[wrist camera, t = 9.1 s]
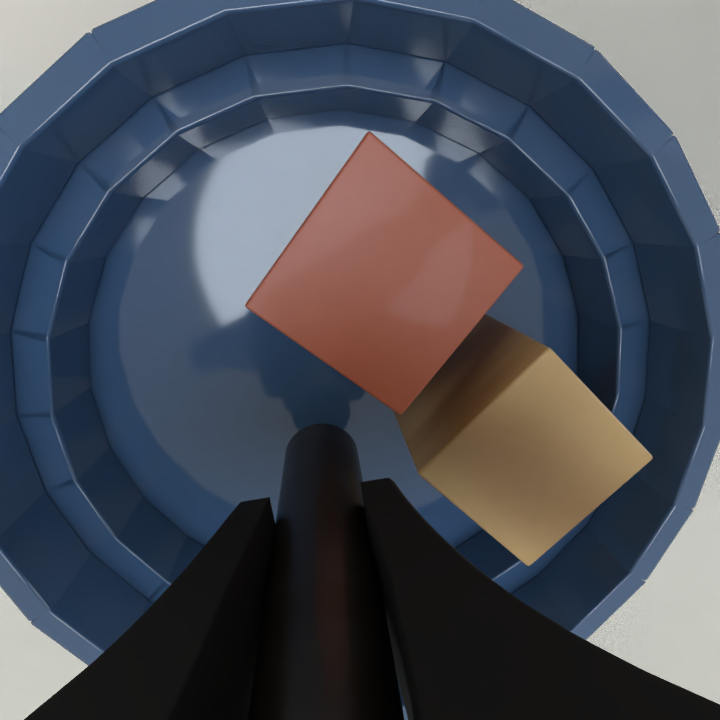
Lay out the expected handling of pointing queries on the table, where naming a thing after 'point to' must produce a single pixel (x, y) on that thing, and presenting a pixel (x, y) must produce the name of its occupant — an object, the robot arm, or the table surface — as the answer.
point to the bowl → (266, 243)
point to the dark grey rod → (323, 595)
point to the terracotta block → (384, 277)
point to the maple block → (517, 439)
